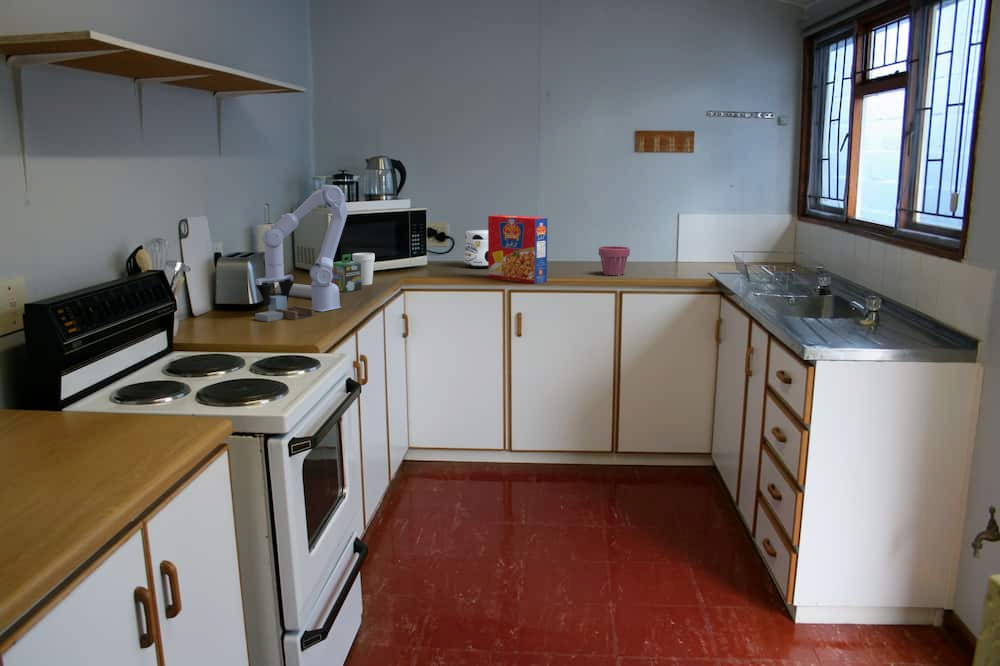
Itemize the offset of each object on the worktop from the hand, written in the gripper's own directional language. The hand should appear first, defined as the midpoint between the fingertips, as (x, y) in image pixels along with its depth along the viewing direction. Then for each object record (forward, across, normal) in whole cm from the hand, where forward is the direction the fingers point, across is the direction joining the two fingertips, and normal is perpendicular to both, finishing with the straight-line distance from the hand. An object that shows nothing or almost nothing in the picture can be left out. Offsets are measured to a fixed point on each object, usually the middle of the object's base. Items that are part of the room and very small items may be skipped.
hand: (276, 303), depth 276 cm
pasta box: (+3, -114, +23) cm, 116 cm away
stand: (+3, +8, +7) cm, 11 cm away
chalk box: (+4, -50, -18) cm, 53 cm away
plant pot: (+3, -154, +50) cm, 162 cm away
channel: (+3, 0, +10) cm, 11 cm away
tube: (+4, -29, -22) cm, 36 cm away
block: (+4, 0, +1) cm, 4 cm away
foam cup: (+3, -66, -24) cm, 70 cm away
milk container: (+3, -140, -17) cm, 141 cm away
